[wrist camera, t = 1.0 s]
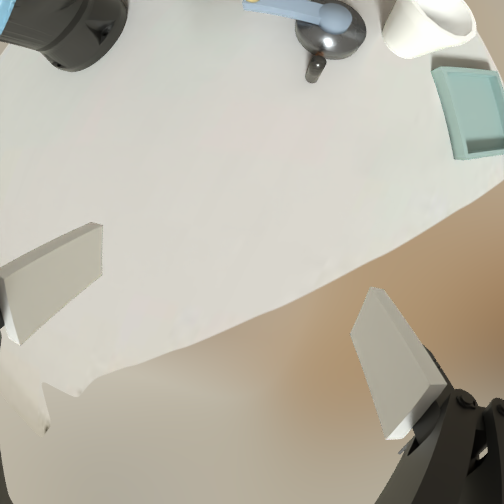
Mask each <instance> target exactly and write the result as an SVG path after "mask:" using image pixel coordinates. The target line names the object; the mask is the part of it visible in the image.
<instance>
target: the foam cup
mask: <svg viewBox="0 0 504 504" xmlns="http://www.w3.org/2000/svg"><path fill="white" fill-rule="evenodd" d="M475 35H476V22H475V19H474V17H473V14H472V12H471V10H470V8H469V7H468V6H467V4H466V3H465V2H464V0H396V3H395V5H394V7H393V9H392V11H391V13H390V15H389V17H388V19H387V21H386V23H385V25H384V28H383V32H382V36H383V40H384V42H385V44H386V45H387V46H388V48H389V49H390V50H391V51H392V52H394V53H395V54H396V55H398V56H400V57H403V58H406V59H410V58H416V57H419V56H422V55H425V54H428V53H432V52H435V51H438V50H441V49H445V48H448V47H452V46H460V45H462V44H464V43H466V42H468V41H470V40H471V39H472V38H473V37H474V36H475Z"/></svg>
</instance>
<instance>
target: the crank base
mask: <svg viewBox="0 0 504 504" xmlns="http://www.w3.org/2000/svg"><path fill="white" fill-rule="evenodd" d="M311 1H312V2H316V3H319V4H323V5H324V4H327V3H336V4H340V5H342V6H344V7H345V8H347V9H348V10H349V12H350V13H351V15H352V22H351V24H350V26H349V27H348V29H347V31H346V32H344V33H343V34H339V35H334V34H329V33H327V32H325V31H323V30H322V29H321V28H320V27H319V25H317V24H313V23H309V22H305V21H301V20H297V19H296V25H295V32H296V36H297V38H298V40H299V42H300V43H301V44H302V46H303V47H304V48H305V49H307V50H308V51H309V52H311V53H313V54H314V55H315V56H314V57H313V58H312V60H311V63H310V65H309V68H308V71H307V73H306V76H305V78H306V80H307V81H308V82H309V83H315V82H316V81H317V80H318V78H319V76H320V74H321V73H322V71H323V69H324V67H325V65H326V59H332V60H337V59H344V58H347V57H349V56H351V55H352V54H354V53H355V52H356V51H357V49H358V48H359V47H360V45H361V44H362V43H363V41H364V40H365V37H366V26H365V23H364V21H363V19H362V17H361V16H360V15H359V14H358V13H357V11H355V10H354V9H353V8H352V7H350V6H349V5H347V4H345V3H343V2H340V1H338V0H311Z"/></svg>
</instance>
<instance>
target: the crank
mask: <svg viewBox="0 0 504 504" xmlns="http://www.w3.org/2000/svg"><path fill="white" fill-rule="evenodd" d="M242 4H243V8H244V10H248V11H255V12H261V13H267V14H273V15H278V16H283V17H288V18H293V19H297V20H301V21H305V22H309V23H313V24H317V25H319V27H320V28H321V29H322V30H323V31H325V32H327V33H329V34H334V35H339V34H343V33H344V32H346V31H347V29H348V27H349V26H350V24H351V22H352V15H351V13H350V12H349V10H348V9H347V8H345V7H344V6H342V5H340V4H336V3H327V4H324V5H323V4H319V3H316V2H312V1H308V0H243V2H242Z"/></svg>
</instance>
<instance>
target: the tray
mask: <svg viewBox="0 0 504 504" xmlns="http://www.w3.org/2000/svg"><path fill="white" fill-rule="evenodd" d="M431 73H432V76H433V79H434V82H435V85H436V88H437V91H438V94H439V97H440V101H441V104H442V108H443V111H444V115H445V119H446V123H447V127H448V131H449V135H450V140H451V145H452V150H453V155H454V159H458V160H469V159H475V158H482V157H489V156H496V155H503V154H504V90H503V87H502V84H501V81H500V78H499V75H498V72H497V71H490V70H482V69H473V68H461V67H443V66H441V67H438V68H436V69H434V70H432V71H431Z"/></svg>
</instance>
